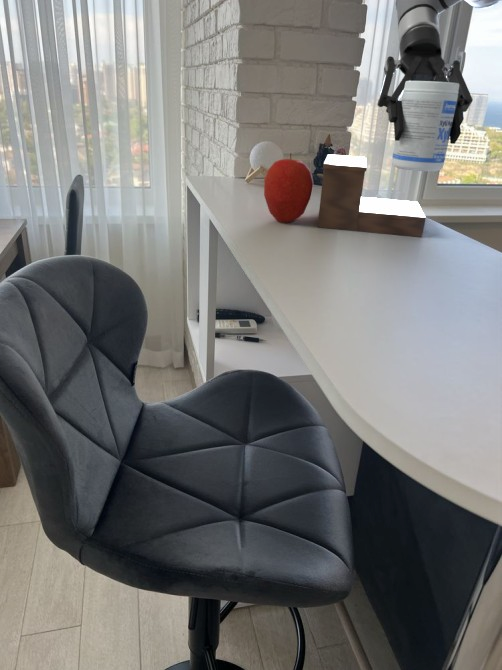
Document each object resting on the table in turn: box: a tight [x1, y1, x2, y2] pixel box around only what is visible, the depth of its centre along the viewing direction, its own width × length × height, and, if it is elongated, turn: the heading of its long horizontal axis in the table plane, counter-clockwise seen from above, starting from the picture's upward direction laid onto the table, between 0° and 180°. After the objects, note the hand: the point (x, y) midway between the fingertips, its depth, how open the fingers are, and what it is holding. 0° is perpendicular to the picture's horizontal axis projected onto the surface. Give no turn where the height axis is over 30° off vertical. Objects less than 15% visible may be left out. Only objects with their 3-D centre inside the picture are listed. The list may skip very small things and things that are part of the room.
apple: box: [263, 152, 315, 224], centre depth 105 cm, size 10×10×14 cm
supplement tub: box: [391, 81, 459, 172], centre depth 92 cm, size 10×10×15 cm
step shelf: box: [317, 154, 427, 238], centre depth 107 cm, size 21×16×13 cm
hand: (427, 137), depth 90 cm, fingers closed on supplement tub, 9 cm apart
